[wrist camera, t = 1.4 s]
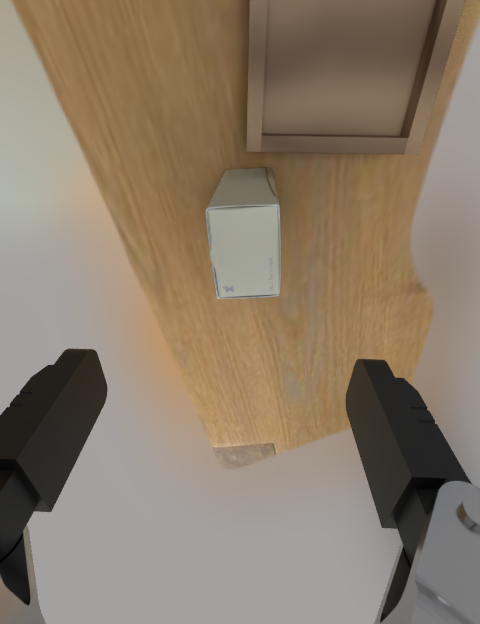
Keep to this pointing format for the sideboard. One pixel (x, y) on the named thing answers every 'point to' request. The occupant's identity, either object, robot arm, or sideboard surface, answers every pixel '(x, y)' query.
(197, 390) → the sideboard surface
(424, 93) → the brown wooden tray
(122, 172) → the sideboard surface
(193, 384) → the sideboard surface
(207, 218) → the skincare box
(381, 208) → the sideboard surface
